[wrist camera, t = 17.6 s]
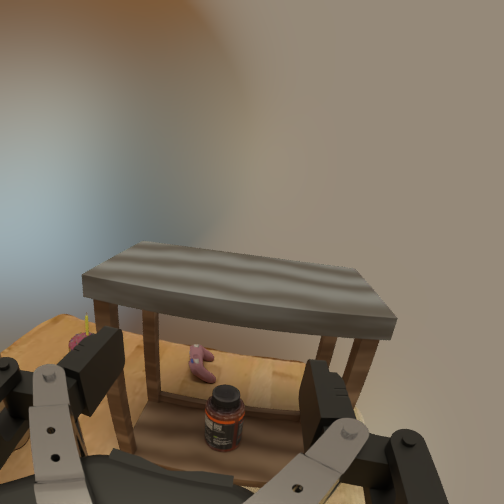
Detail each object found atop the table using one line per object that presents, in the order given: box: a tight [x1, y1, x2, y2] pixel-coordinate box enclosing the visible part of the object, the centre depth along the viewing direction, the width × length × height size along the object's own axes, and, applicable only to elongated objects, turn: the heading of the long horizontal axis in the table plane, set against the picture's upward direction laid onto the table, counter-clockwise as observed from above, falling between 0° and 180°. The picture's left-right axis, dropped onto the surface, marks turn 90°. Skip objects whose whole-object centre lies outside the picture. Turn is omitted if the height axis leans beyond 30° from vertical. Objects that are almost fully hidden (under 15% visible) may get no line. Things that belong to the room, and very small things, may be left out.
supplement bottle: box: [205, 385, 245, 452], centre depth 41 cm, size 6×6×11 cm
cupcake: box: [69, 313, 93, 352], centre depth 57 cm, size 9×8×12 cm
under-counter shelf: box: [82, 241, 397, 488], centre depth 39 cm, size 17×32×32 cm, turn 87°
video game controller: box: [189, 344, 216, 383], centre depth 63 cm, size 10×5×7 cm, turn 9°
